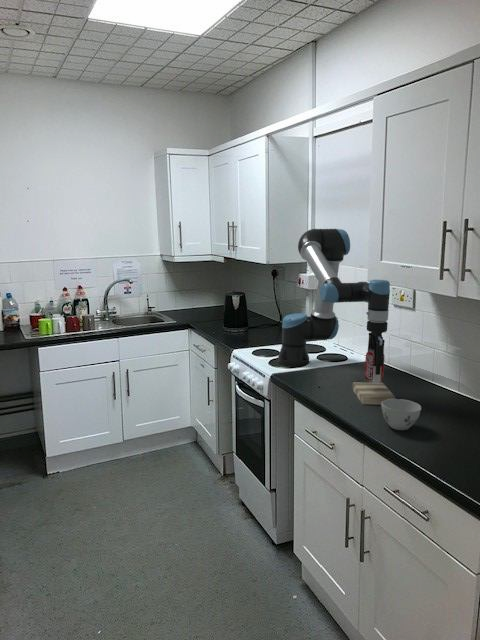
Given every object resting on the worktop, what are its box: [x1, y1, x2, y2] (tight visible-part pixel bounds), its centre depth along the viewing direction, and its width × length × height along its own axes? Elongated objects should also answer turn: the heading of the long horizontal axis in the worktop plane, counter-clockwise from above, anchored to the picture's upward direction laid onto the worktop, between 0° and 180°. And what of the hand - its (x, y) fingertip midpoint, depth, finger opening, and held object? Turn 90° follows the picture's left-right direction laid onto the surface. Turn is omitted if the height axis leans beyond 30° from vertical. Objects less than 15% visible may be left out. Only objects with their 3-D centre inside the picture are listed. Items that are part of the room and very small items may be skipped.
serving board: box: [352, 381, 396, 405], centre depth 195 cm, size 17×12×3 cm
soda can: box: [364, 348, 385, 383], centre depth 193 cm, size 7×7×12 cm
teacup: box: [380, 398, 422, 431], centre depth 166 cm, size 15×12×8 cm
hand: (373, 379), depth 194 cm, fingers closed on soda can, 7 cm apart
